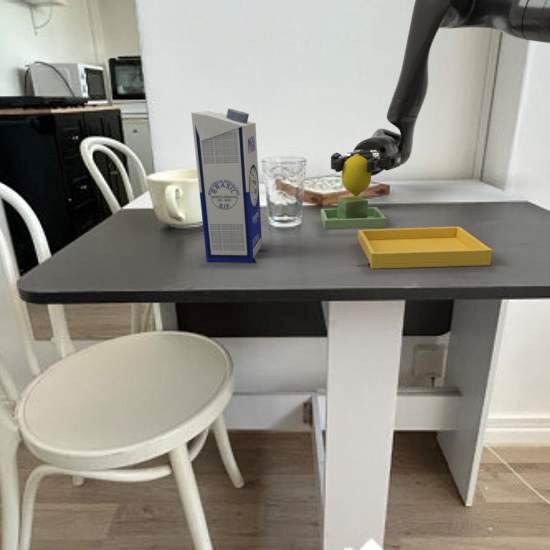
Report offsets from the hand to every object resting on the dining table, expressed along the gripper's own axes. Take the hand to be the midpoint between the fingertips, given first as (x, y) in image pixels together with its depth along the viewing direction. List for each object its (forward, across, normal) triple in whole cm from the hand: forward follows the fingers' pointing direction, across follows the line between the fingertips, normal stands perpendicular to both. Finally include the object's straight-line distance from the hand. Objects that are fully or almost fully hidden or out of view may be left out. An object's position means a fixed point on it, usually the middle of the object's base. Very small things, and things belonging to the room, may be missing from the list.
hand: (352, 166), depth 80 cm
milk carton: (+28, -10, +9) cm, 31 cm away
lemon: (-3, 0, +6) cm, 7 cm away
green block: (+7, +2, +8) cm, 11 cm away
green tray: (+7, +2, +9) cm, 12 cm away
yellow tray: (+19, +15, +9) cm, 26 cm away
